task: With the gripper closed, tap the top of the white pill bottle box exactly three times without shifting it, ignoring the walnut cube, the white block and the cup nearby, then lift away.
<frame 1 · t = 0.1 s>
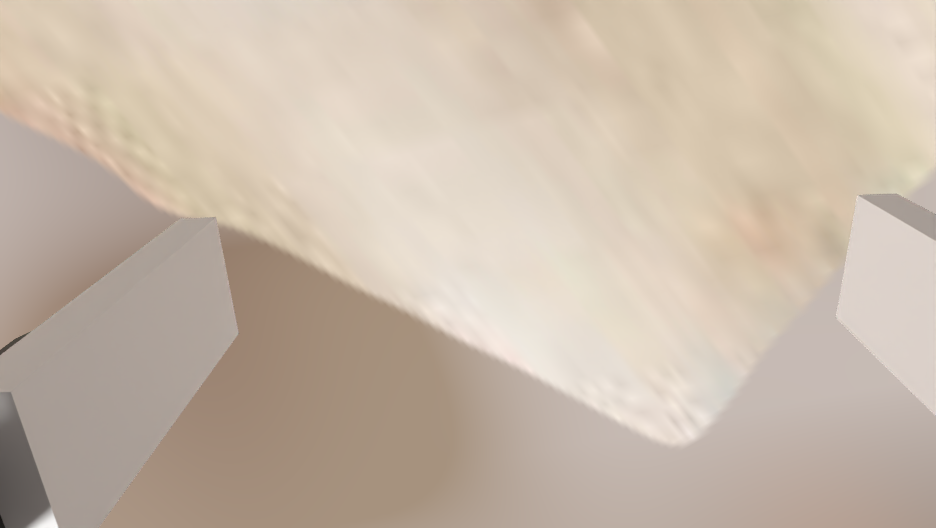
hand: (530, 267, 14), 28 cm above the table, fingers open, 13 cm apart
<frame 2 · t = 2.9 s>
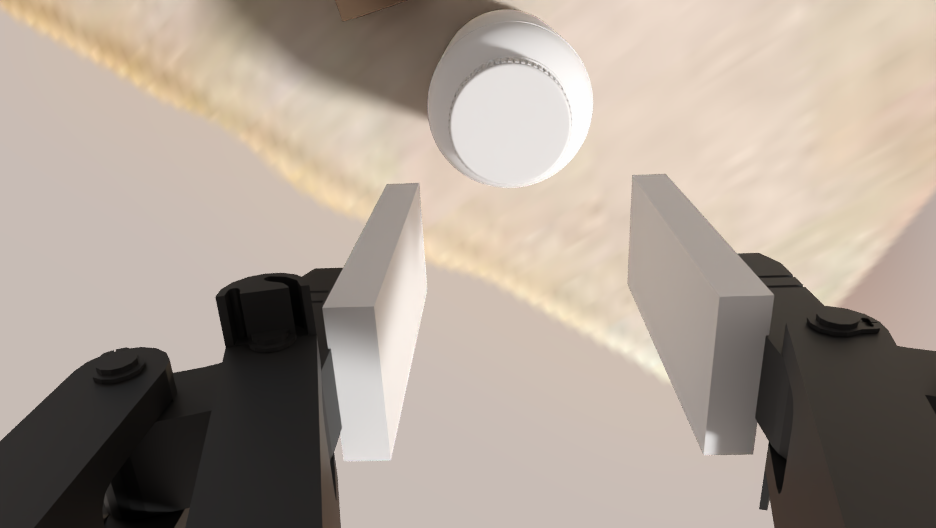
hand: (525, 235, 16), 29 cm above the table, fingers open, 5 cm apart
pill bottle: (505, 76, 43), on the table
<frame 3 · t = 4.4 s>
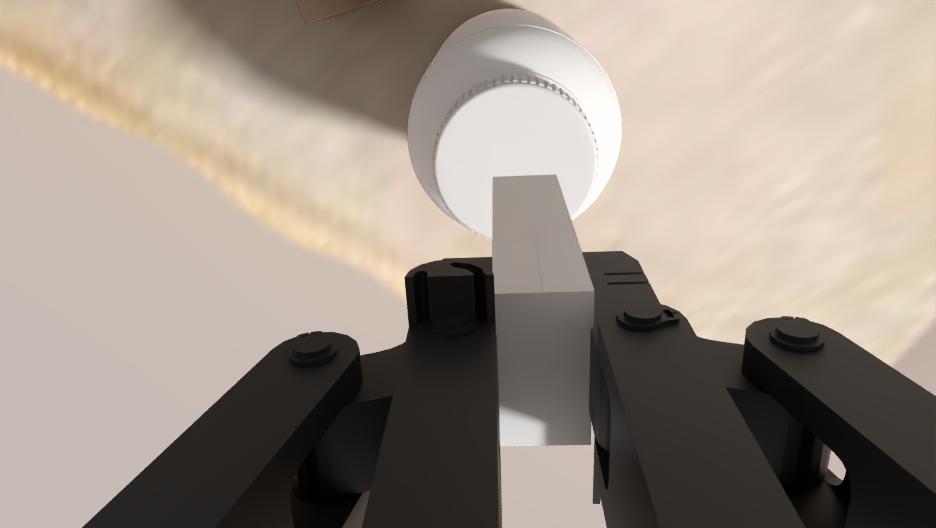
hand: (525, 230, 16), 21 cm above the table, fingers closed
pill bottle: (507, 90, 36), on the table
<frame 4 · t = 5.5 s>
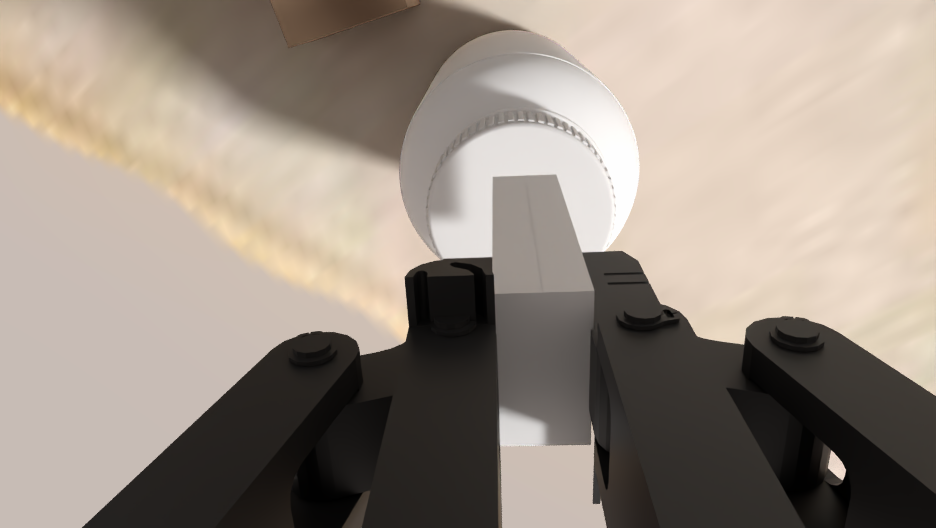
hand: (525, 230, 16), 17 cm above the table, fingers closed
pill bottle: (510, 116, 33), on the table
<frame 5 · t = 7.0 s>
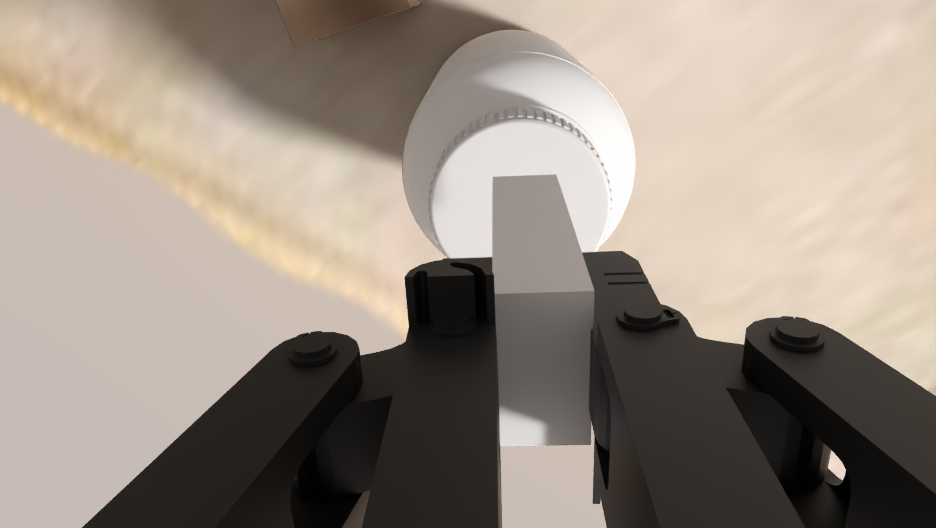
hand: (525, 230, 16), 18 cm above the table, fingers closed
pill bottle: (510, 114, 34), on the table
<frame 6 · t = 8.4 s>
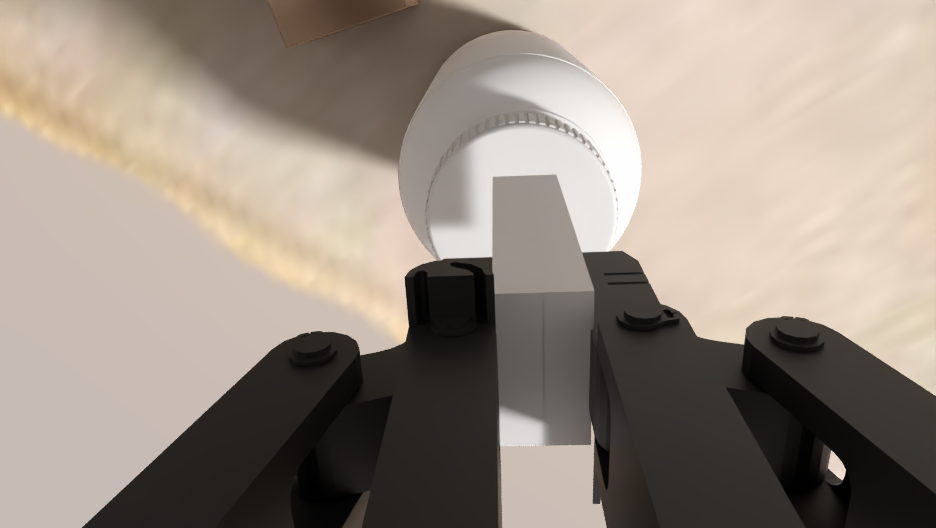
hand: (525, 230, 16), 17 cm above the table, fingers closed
pill bottle: (510, 117, 33), on the table
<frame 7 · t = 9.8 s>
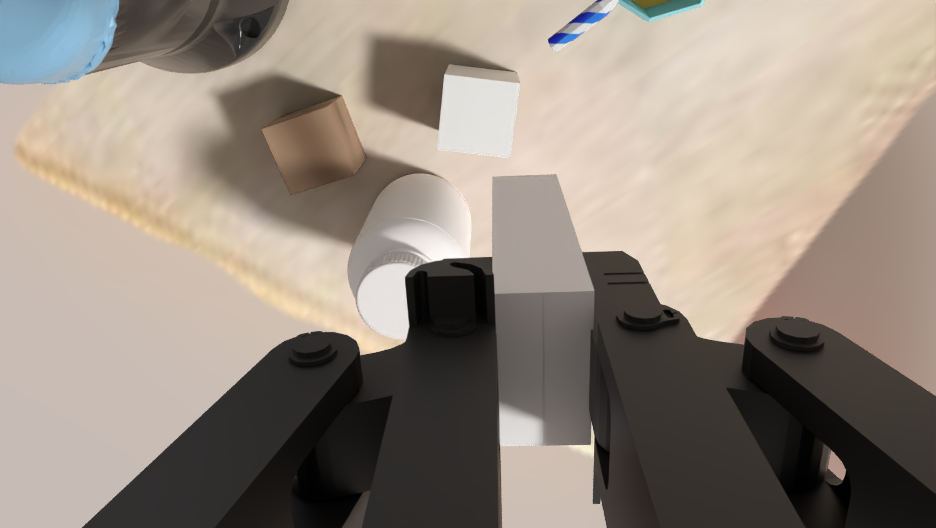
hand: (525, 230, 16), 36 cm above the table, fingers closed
walnut cube: (324, 137, 53), on the table
pill bottle: (422, 218, 55), on the table
white block: (479, 102, 51), on the table
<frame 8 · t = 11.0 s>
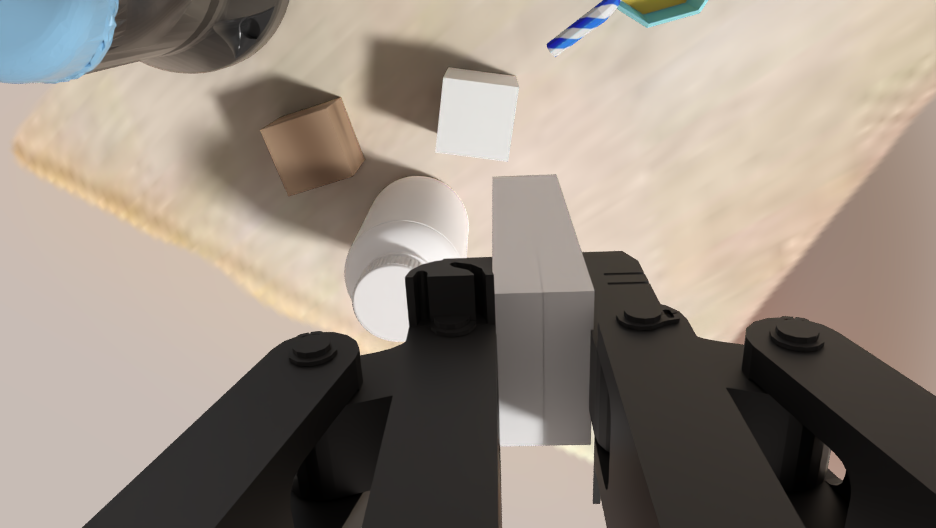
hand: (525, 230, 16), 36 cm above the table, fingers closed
walnut cube: (323, 138, 53), on the table
pill bottle: (420, 221, 55), on the table
white block: (477, 105, 51), on the table
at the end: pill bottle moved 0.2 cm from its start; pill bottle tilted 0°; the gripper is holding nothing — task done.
